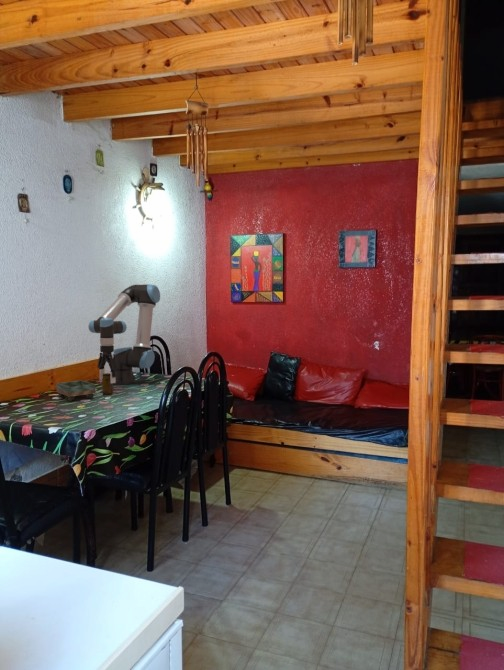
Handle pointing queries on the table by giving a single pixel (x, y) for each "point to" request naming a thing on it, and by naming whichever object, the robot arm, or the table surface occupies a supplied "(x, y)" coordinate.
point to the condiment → (107, 385)
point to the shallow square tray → (75, 389)
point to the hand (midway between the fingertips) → (107, 381)
